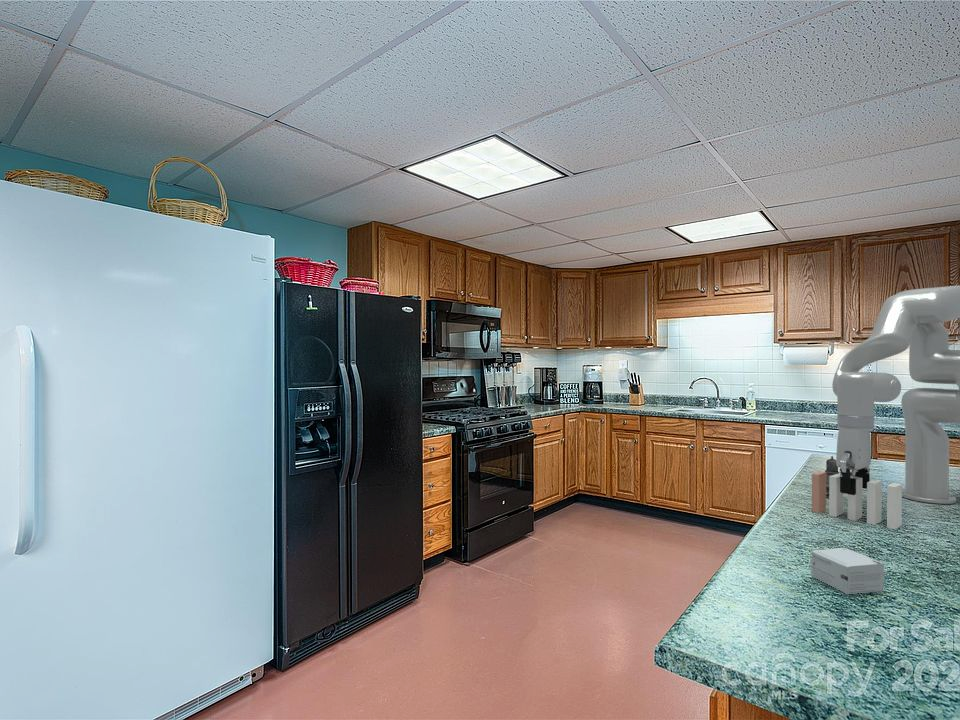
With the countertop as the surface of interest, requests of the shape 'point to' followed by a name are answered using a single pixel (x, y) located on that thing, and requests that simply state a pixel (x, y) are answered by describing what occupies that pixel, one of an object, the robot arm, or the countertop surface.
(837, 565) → the small box
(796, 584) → the countertop surface
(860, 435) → the robot arm
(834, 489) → the domino
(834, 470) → the dark grey ornamental finial
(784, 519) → the countertop surface
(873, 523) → the domino
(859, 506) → the domino
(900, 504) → the domino
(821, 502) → the end domino
